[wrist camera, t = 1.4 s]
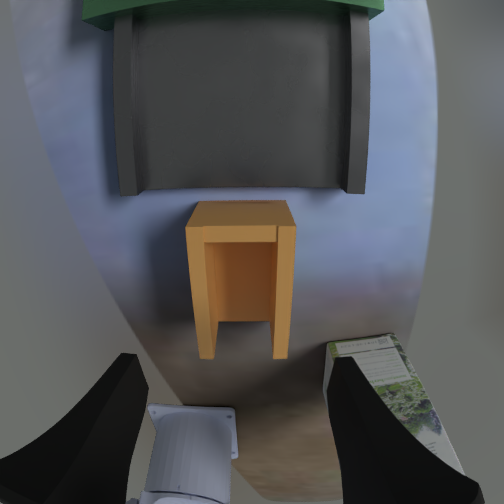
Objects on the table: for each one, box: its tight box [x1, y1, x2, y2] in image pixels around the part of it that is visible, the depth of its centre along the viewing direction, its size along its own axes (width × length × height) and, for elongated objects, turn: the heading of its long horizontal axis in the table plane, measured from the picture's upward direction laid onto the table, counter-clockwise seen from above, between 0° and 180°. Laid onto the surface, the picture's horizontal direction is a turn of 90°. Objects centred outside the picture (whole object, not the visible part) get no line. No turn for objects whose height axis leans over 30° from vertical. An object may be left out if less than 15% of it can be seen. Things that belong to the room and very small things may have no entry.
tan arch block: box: [185, 200, 296, 359], centre depth 18 cm, size 8×5×4 cm, turn 0°
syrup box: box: [323, 333, 465, 475], centre depth 17 cm, size 6×6×14 cm
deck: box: [82, 0, 384, 196], centre depth 11 cm, size 18×15×7 cm
